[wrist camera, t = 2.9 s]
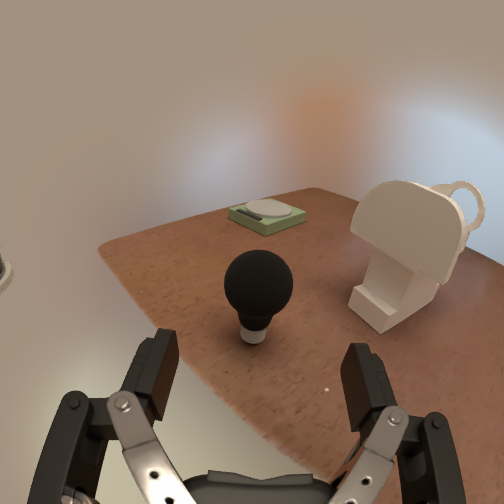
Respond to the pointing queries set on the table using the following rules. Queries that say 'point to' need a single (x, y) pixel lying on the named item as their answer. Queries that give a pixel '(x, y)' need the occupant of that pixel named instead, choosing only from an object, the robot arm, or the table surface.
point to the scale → (266, 216)
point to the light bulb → (257, 290)
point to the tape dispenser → (408, 247)
